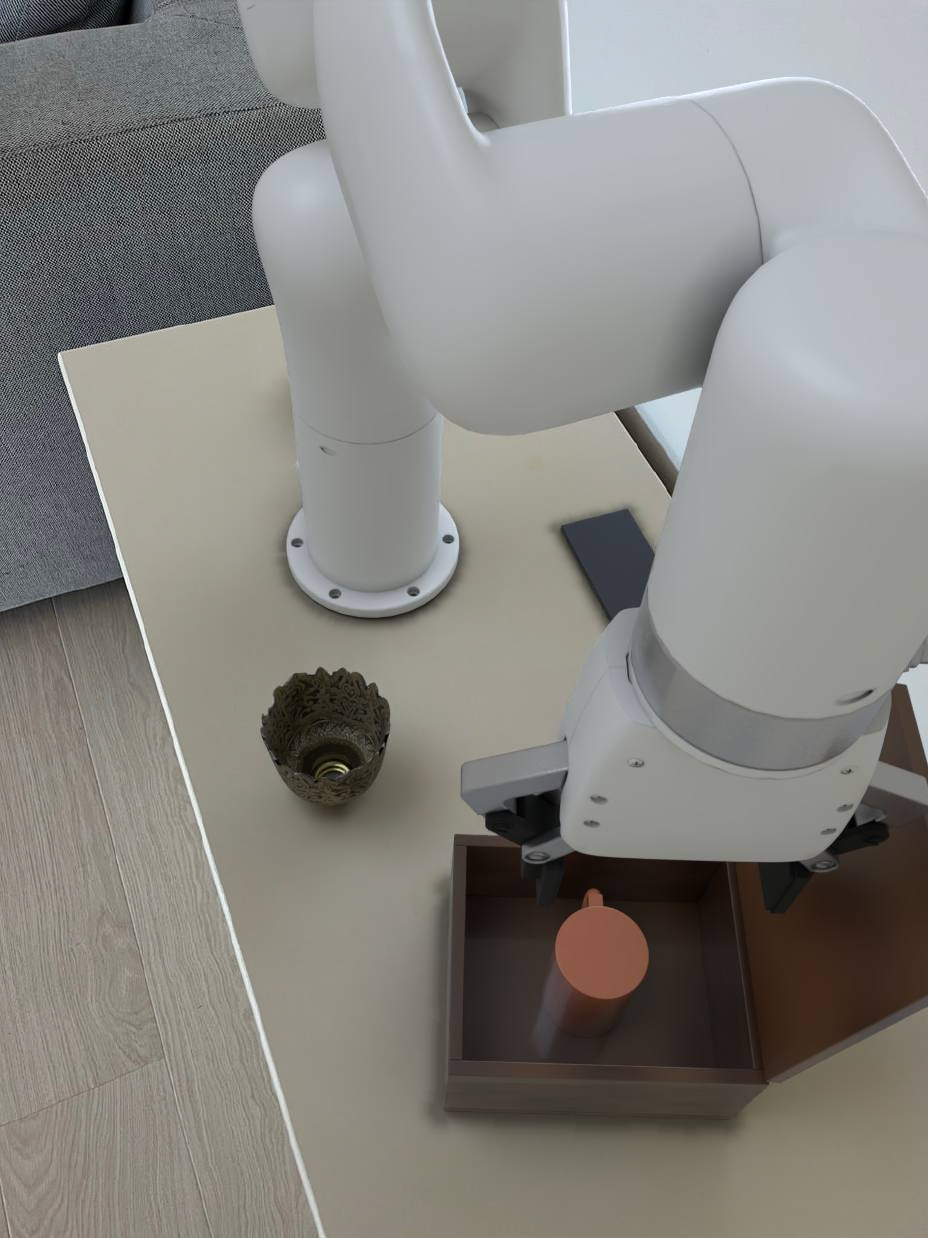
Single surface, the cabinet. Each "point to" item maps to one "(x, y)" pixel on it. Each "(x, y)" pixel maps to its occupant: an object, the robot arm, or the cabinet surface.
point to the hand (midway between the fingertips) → (656, 877)
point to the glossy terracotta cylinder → (594, 968)
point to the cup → (327, 734)
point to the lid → (844, 936)
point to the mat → (612, 558)
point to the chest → (655, 1018)
